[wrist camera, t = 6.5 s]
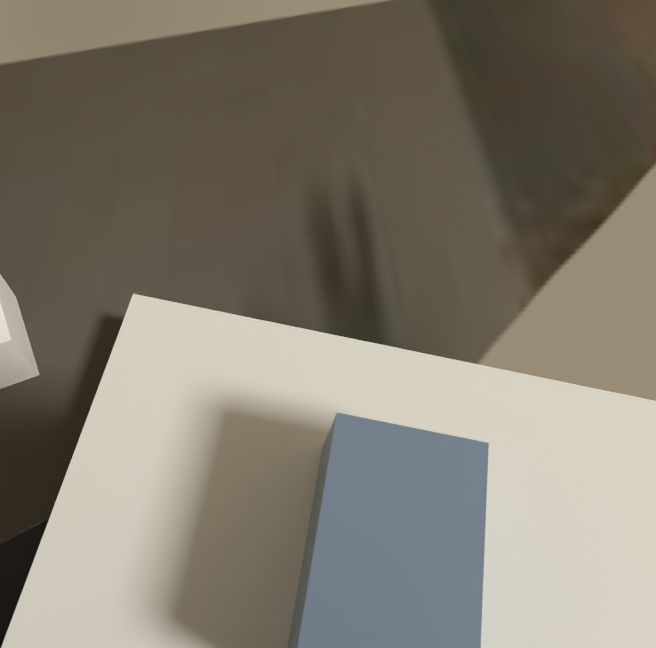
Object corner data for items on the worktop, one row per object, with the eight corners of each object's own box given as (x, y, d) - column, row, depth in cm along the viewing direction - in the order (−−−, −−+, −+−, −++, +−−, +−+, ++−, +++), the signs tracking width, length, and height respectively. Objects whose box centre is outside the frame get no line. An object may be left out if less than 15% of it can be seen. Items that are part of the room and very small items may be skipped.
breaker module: (364, 764, 13) (885, 1331, 2) (155, 725, 13) (-262, 1148, 2) (391, 523, 15) (713, 278, 5) (214, 489, 15) (147, 158, 5)
